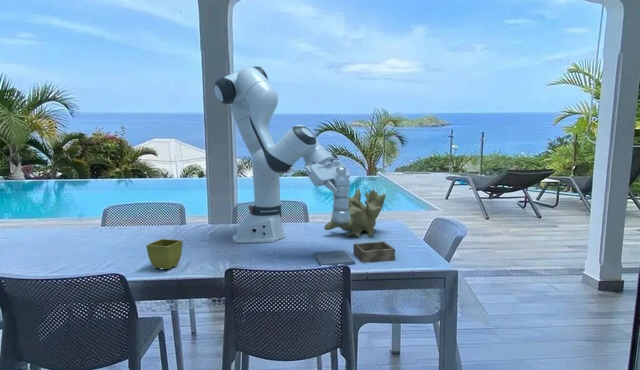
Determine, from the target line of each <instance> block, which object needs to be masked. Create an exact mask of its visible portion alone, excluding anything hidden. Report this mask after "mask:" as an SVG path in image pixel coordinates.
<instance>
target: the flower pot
mask: <svg viewBox="0 0 640 370" xmlns="http://www.w3.org/2000/svg"><path fill="white" fill-rule="evenodd" d="M183 242H184V241H183V240H181V239H170V238H169V239H168V238H161V239H158V240H155V241H153V242H151V243H147V244H145V245H146V251H147V256H148V260H149V261H150V263H151V265H152V266H153V267H154V268H155V269H156V268H163V269H169V268H171V267H173V266H175V265H176V266H178V263H179V262H180V260H181V257H182V252H183V251H182V250H183ZM176 266H175V267H176ZM173 268H174V267H173ZM163 269H162V270H163ZM171 269H172V268H171ZM169 270H170V269H169Z"/></svg>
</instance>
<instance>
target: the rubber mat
mask: <svg viewBox="0 0 640 370" xmlns="http://www.w3.org/2000/svg"><path fill="white" fill-rule="evenodd" d="M312 257H314V259H315V260H316V261H317V263H318V265H319V266H320V265H338V264H345V265H344V266H348V265H356V260H354V258H352V257H351V256H350V255H349V253H347V252H346V251H345V250H335V251H334V250H332V251H318V252H313V253H312Z"/></svg>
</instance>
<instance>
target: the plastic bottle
mask: <svg viewBox="0 0 640 370" xmlns="http://www.w3.org/2000/svg"><path fill="white" fill-rule="evenodd" d="M346 168H347V167H346ZM346 168H343V167H339V168H336V172H335V173H336V176H335V177H334V179H333V180H332V185H334V186H335V187H337V188H338V189H339V191H338V192H337V193H333V192H332V197H333V202H332V203H333V207H332V212H331V213H332V215H331V218H332V219H333V221H334V223H339V224H344V223H348V222H349V221H350V217H351V216H350V211H349V198H348V197H350V189H351V181H350V179H349V178H348V177H347V176H346ZM349 188H350V189H349Z"/></svg>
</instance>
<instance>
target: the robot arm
mask: <svg viewBox="0 0 640 370" xmlns="http://www.w3.org/2000/svg"><path fill="white" fill-rule="evenodd" d="M213 89H214V93H215V96H216V97H217V99H218V101H219V103H222V105H223V104H224V105H229V107H230V111H231V114H232V117H233V120H234V122H235V124H236V127H237V129H238V132H239V134H240V136H241V139H242V141H243V143H244V144H245V147H246V148H247V150H248V153H249V154H250V156H251V158H252V159H251V165H252V166H251V167H252V181H253V194H254V195H253V198H254V204H253V205H251V204H250V205H248V210H249V215H248V216H246V217H245V218H244V219H243V220H242V221H240V223H239V224H238V227H237V231H236V233H234V234H233V235H232V241H233V242H234V243H237V244H238V243H239V244H242V243H243V244H247V243H248V244H249V243H273V242H276V241H278V240H281V239H283V238H285V237H286V233H285V232H284V228H283V223H282V215H283V212H282V211H283V210H282V209H283V208H282V204H281V188H280V187H281V185H280V180H281V179H280V174H283V173H288V172H289V171H290V170H291V168H293V166H294V165H295V164H296V163H297V161H299V160H300V159H301V158H303V161H304V163H305V164H304V169H305V171H306V174H307V177H308V178H309V179H310V181H311V183H312V184H313V185H314V186H315V187H322V186H325V188H327V189H329V190H330V191H331V192H332V194H333V193H337V192H338V191H339V189H338V188H337V187H335V186H334V185H332V180H333V179H334V177H335V176H336V173H335V172H336V168H339V167H343V168H346V176H347V177H348V179H349V178H350V177H351V172H350V170H349V168H347V166H346V165H345V164H344V162H342V161H341V160H340V157H339V155H338V154H336V153H332V152H330V151H328V150H326V149H325V147H324V146H323V145H321V144H320V141H319V140H318V138H317V137H316V136H315V135H314V133H313V132H312V131H311V129H310V128H308V127H306V126H305V125H303V124H296V125H294V126H292V127H291V128H290V129H289V130H288V131H287V132H286V133H284V134H283V136H282V137H281V138H280V139H279V140H278V141H277V142H276V143H275V142H274V140H273V137H272V135H271V133H270V131H269V126H270V125H269V124H270V121H271V119H272V117H273V115H274V113H275V111H276V109H277V107H278V103H279V96H278V95H279V94H278V93H277V91H276V89H275V87H274V86H273V84H272V83H271V82H270V81H269V79H268V75H267V72H266V71H265V70H264V69H263V68H262V67H261V66H247V67H244V68H242V69H239V70H237V71H235V72H232V73H230V74H228V75H226V76H222V77H220V78H219V79H217V80H216V81H215V82H214V85H213ZM350 189H351V187H350V188H349V190H350Z"/></svg>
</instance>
